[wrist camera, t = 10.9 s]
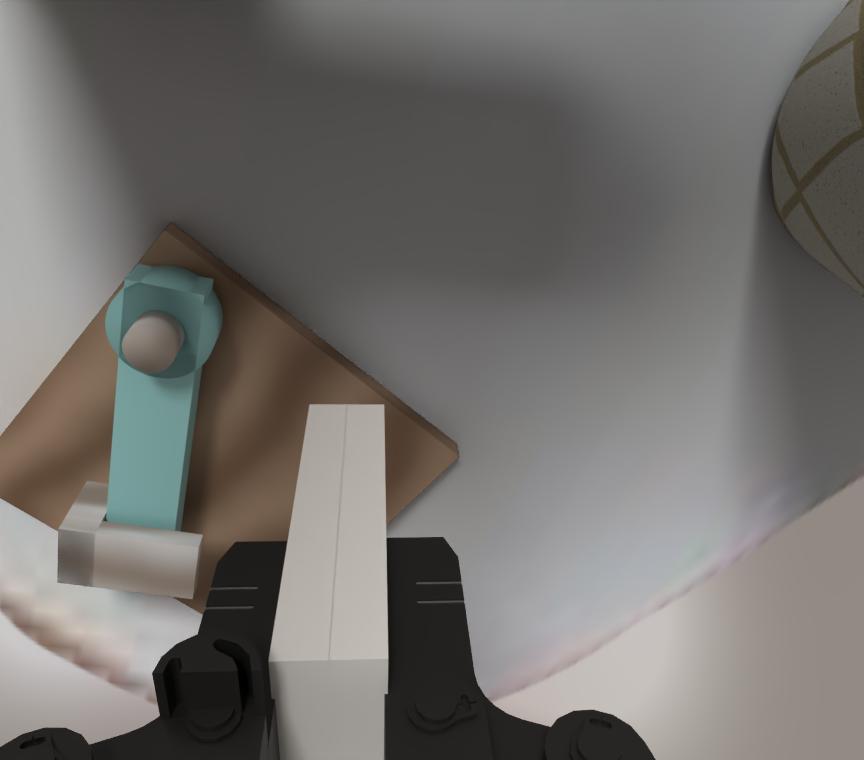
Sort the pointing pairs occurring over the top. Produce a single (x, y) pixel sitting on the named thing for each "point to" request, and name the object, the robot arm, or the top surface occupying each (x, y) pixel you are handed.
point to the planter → (826, 150)
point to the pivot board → (196, 437)
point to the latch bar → (158, 396)
